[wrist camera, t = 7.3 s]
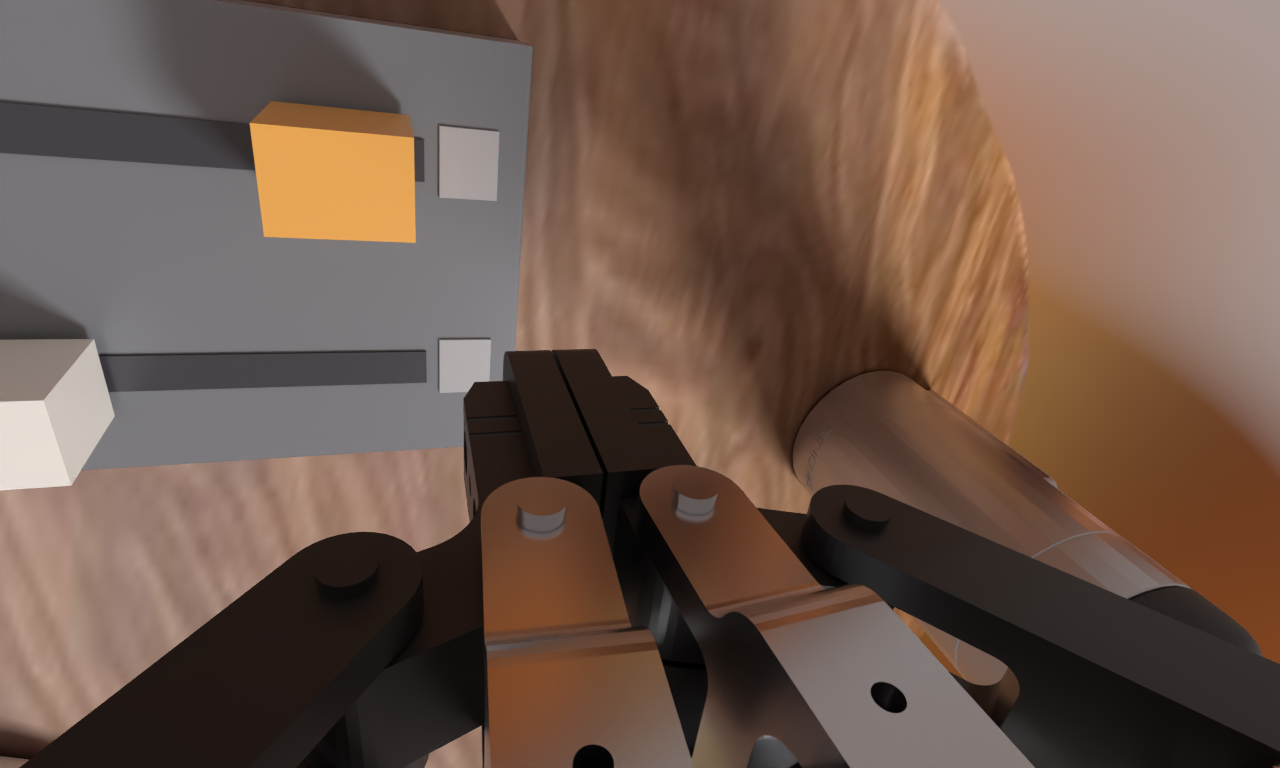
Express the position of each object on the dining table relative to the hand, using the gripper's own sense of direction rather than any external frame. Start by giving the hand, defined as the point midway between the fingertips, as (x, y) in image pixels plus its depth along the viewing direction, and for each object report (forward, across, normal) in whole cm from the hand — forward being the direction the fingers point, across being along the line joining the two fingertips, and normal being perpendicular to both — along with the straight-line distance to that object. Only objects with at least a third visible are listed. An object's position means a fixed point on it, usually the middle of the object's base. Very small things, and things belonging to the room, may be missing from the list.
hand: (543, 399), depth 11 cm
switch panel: (+18, +9, +3) cm, 20 cm away
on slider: (+15, +14, +7) cm, 21 cm away
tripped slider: (+15, +4, -1) cm, 15 cm away
